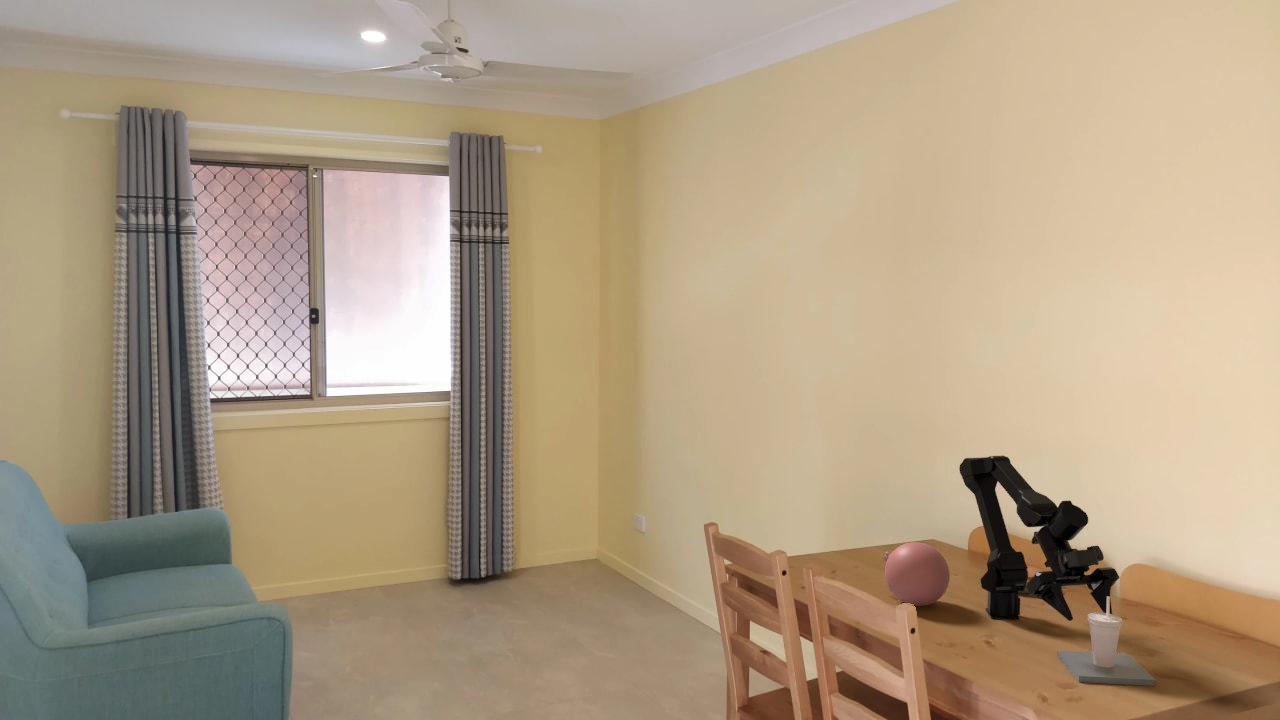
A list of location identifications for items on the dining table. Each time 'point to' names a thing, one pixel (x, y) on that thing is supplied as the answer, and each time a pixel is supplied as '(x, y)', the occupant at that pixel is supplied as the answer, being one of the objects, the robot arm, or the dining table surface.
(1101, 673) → the slate trivet
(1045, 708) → the dining table surface
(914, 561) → the balloon
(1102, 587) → the robot arm
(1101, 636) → the smoothie
